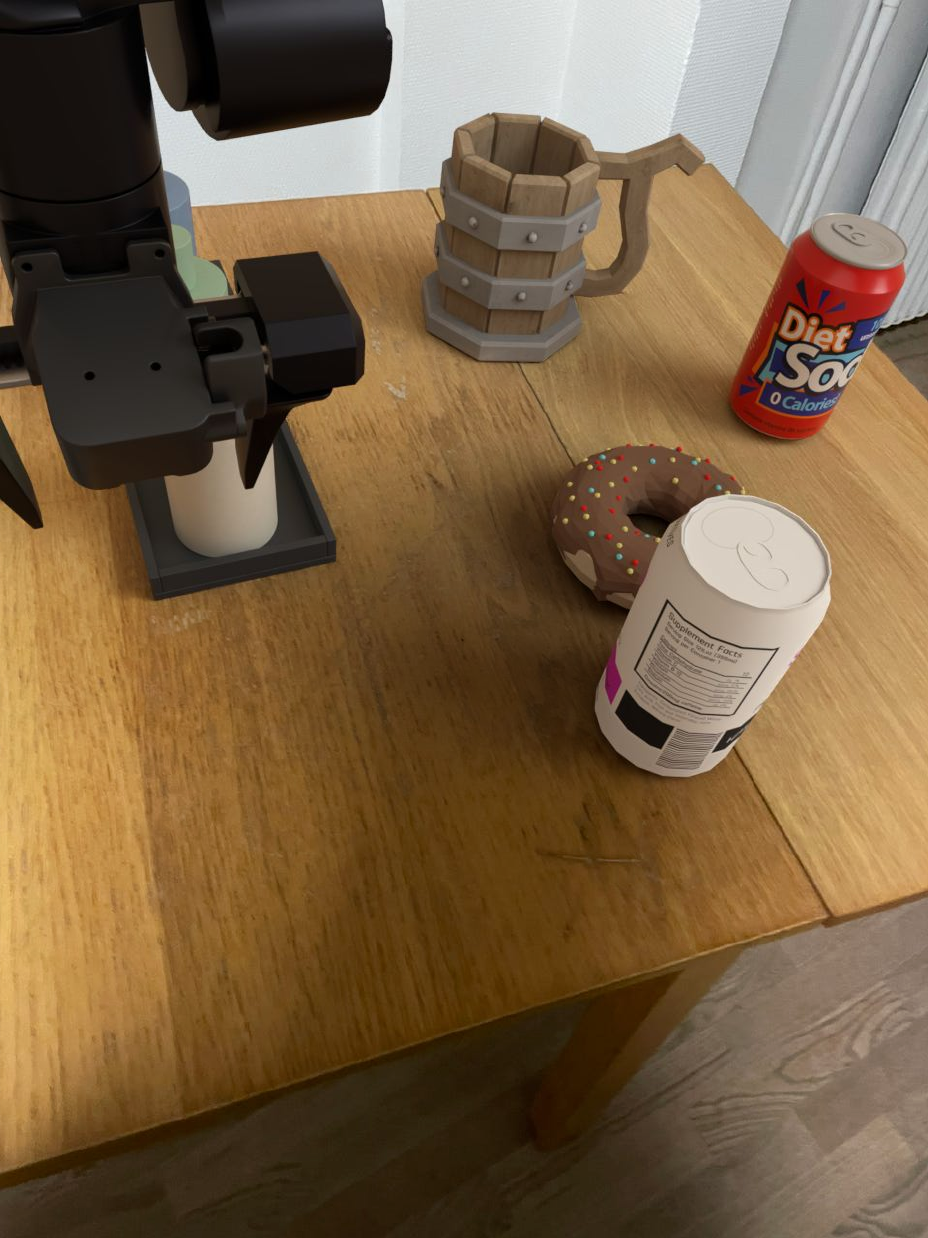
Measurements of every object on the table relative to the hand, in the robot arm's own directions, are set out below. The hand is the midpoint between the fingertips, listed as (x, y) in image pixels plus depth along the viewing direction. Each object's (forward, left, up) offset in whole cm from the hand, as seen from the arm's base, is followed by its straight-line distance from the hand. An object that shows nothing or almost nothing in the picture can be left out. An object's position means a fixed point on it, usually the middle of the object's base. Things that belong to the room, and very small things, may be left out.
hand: (146, 501), depth 41 cm
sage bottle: (+5, +20, -12) cm, 24 cm away
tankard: (+35, +26, -13) cm, 46 cm away
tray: (+5, +20, -13) cm, 25 cm away
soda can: (+48, +10, -13) cm, 51 cm away
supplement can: (+25, -12, -13) cm, 31 cm away
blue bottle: (+5, +31, -12) cm, 34 cm away
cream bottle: (+5, +10, -12) cm, 16 cm away
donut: (+31, 0, -13) cm, 34 cm away
